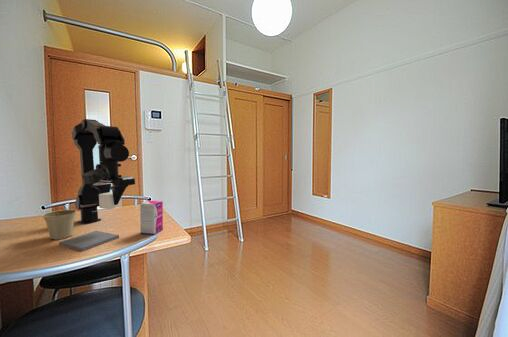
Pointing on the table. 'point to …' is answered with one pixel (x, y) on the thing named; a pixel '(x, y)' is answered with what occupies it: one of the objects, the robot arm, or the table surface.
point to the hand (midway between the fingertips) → (110, 204)
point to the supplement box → (151, 217)
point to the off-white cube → (108, 201)
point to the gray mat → (88, 240)
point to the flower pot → (60, 223)
